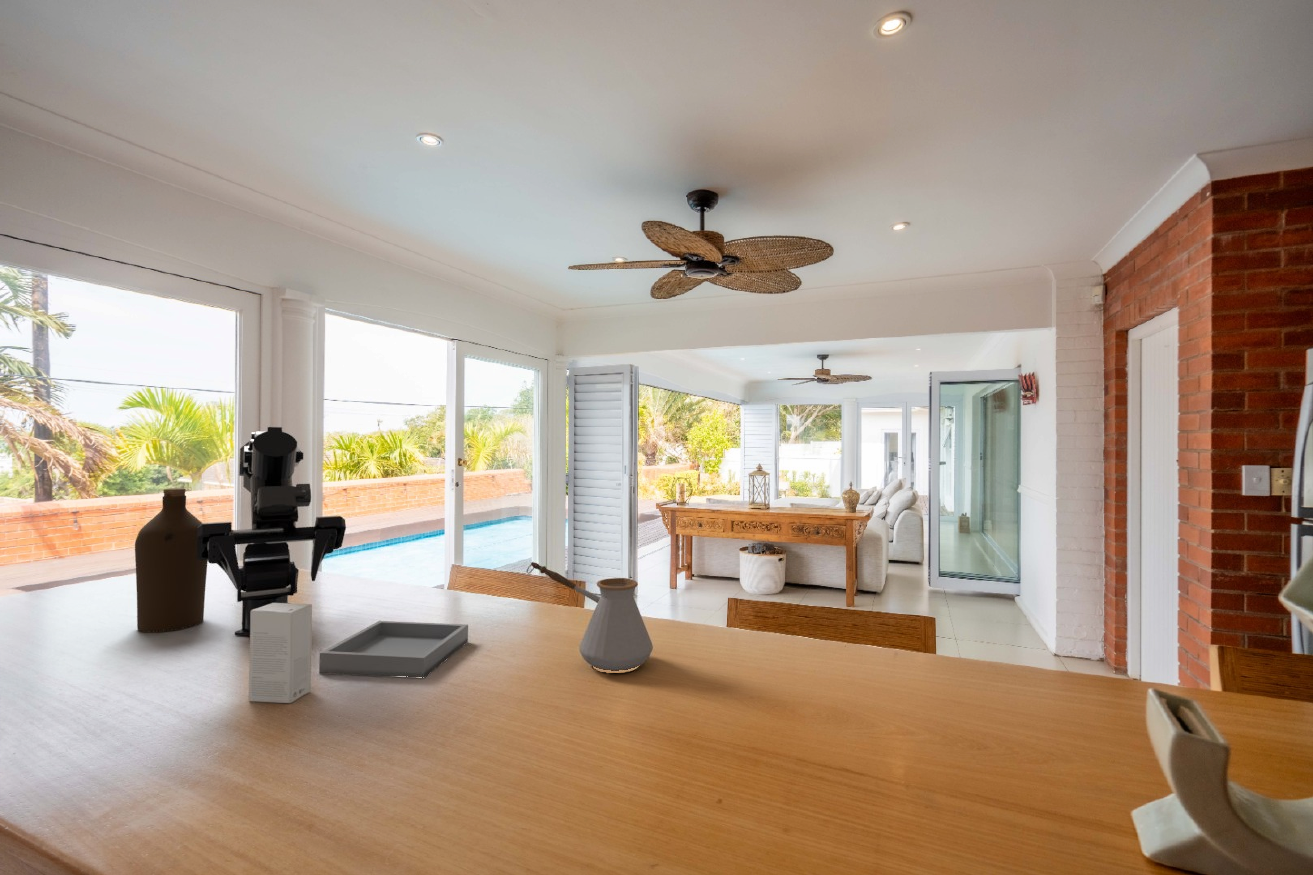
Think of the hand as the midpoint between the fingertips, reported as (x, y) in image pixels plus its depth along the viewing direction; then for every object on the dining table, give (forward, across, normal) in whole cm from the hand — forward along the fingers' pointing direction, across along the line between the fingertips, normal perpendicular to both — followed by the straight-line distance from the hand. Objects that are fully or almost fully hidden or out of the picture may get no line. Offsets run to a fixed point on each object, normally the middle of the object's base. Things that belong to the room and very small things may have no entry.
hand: (277, 583), depth 86 cm
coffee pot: (+24, +40, -4) cm, 47 cm away
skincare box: (+15, 0, +4) cm, 16 cm away
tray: (+10, +17, +9) cm, 21 cm away
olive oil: (-18, -13, +38) cm, 44 cm away
